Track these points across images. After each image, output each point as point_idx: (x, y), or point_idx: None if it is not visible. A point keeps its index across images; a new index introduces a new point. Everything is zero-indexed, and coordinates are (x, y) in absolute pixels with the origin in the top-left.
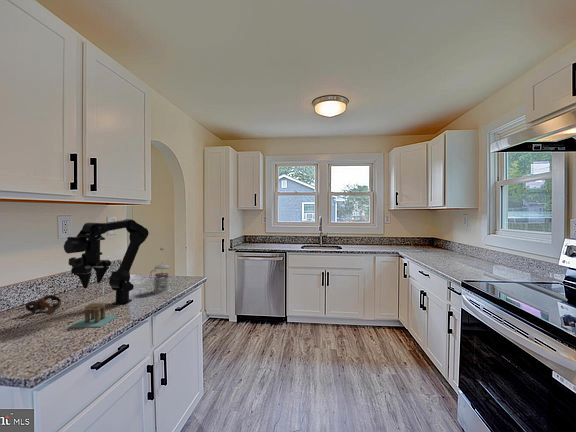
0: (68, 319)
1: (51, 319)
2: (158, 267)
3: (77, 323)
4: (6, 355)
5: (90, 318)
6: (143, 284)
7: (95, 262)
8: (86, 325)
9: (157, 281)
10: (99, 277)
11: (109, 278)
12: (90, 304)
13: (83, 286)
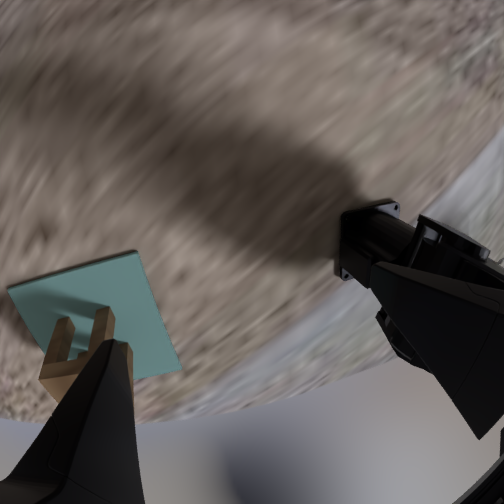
0: (66, 179)
1: (49, 82)
2: None
3: (39, 294)
4: None
5: (103, 298)
6: None
7: None
8: (46, 345)
9: (500, 266)
10: (417, 322)
11: (469, 268)
12: (72, 381)
13: (94, 358)
